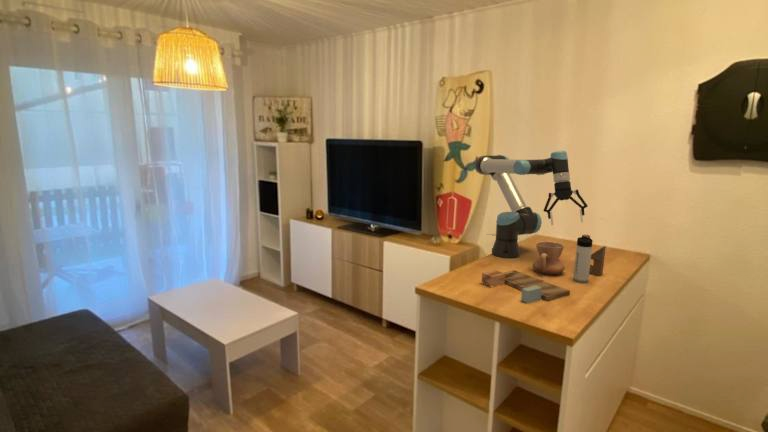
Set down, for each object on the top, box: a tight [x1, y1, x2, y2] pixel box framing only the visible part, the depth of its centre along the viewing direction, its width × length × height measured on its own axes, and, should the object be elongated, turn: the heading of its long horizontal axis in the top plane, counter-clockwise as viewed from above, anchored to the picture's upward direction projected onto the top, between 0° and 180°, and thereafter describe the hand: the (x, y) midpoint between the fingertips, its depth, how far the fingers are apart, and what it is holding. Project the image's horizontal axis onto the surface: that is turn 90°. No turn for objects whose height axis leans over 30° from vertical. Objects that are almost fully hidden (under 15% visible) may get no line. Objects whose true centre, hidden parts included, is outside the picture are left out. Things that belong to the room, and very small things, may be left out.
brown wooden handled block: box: [481, 269, 514, 287], centre depth 183 cm, size 6×16×5 cm, turn 120°
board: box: [503, 270, 571, 302], centre depth 178 cm, size 30×14×2 cm, turn 30°
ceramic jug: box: [532, 240, 566, 276], centre depth 196 cm, size 18×14×14 cm
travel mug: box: [572, 235, 594, 284], centre depth 184 cm, size 6×7×20 cm
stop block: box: [520, 285, 542, 304], centre depth 163 cm, size 3×8×5 cm, turn 120°
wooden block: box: [581, 234, 607, 277], centre depth 196 cm, size 4×11×18 cm, turn 43°
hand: (567, 223), depth 203 cm, fingers open, 13 cm apart
